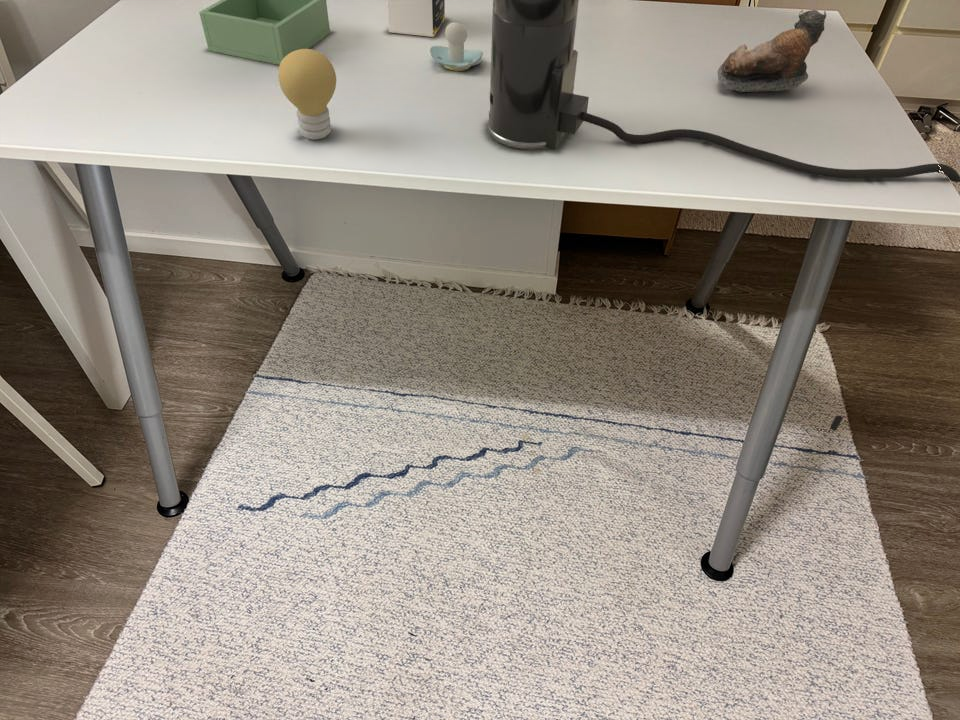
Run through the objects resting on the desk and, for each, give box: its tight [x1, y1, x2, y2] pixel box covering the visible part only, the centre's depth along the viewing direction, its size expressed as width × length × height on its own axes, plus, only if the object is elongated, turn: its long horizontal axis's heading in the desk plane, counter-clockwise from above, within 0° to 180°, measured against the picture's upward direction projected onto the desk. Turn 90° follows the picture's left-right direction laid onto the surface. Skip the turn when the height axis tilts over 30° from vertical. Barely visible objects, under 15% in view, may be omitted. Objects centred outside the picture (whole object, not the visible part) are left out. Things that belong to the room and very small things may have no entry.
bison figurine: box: [717, 9, 827, 93], centre depth 95 cm, size 12×7×10 cm, turn 93°
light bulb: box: [277, 48, 337, 141], centre depth 84 cm, size 6×6×10 cm
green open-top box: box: [198, 0, 331, 66], centre depth 104 cm, size 13×13×5 cm
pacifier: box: [429, 21, 484, 72], centre depth 100 cm, size 7×6×6 cm
